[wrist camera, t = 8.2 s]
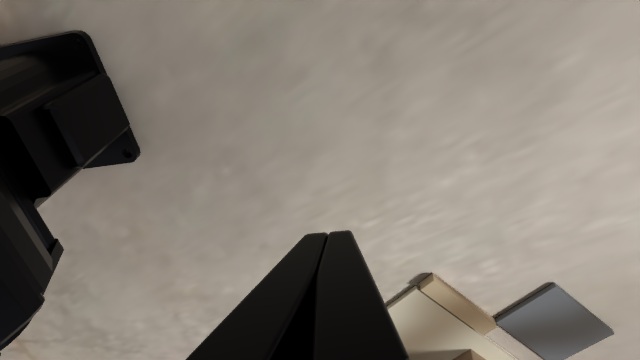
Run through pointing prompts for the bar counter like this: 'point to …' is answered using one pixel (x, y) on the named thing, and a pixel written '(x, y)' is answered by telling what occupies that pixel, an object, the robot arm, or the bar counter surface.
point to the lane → (491, 324)
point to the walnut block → (469, 356)
